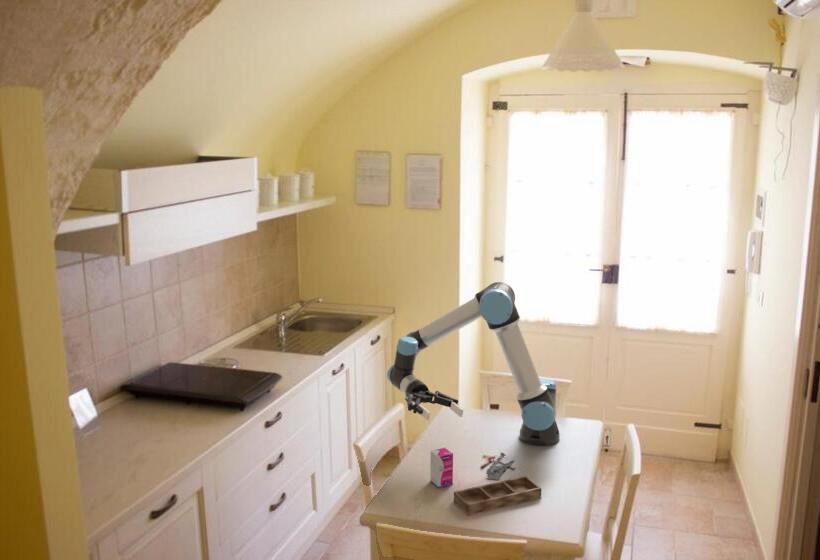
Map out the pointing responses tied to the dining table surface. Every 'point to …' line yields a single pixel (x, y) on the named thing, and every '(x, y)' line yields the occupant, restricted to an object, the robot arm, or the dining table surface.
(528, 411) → the robot arm
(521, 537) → the dining table surface
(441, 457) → the supplement box
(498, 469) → the grey irregular piece
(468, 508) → the brown wooden compartment tray
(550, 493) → the dining table surface
